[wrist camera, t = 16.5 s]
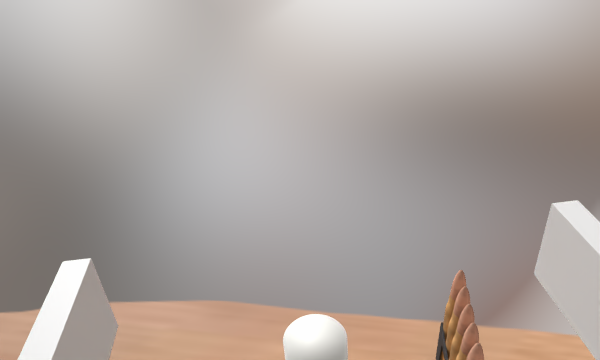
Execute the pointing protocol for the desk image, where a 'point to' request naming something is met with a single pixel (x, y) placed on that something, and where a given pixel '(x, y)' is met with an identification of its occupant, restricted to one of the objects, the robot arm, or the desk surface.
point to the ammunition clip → (459, 326)
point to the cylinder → (315, 339)
